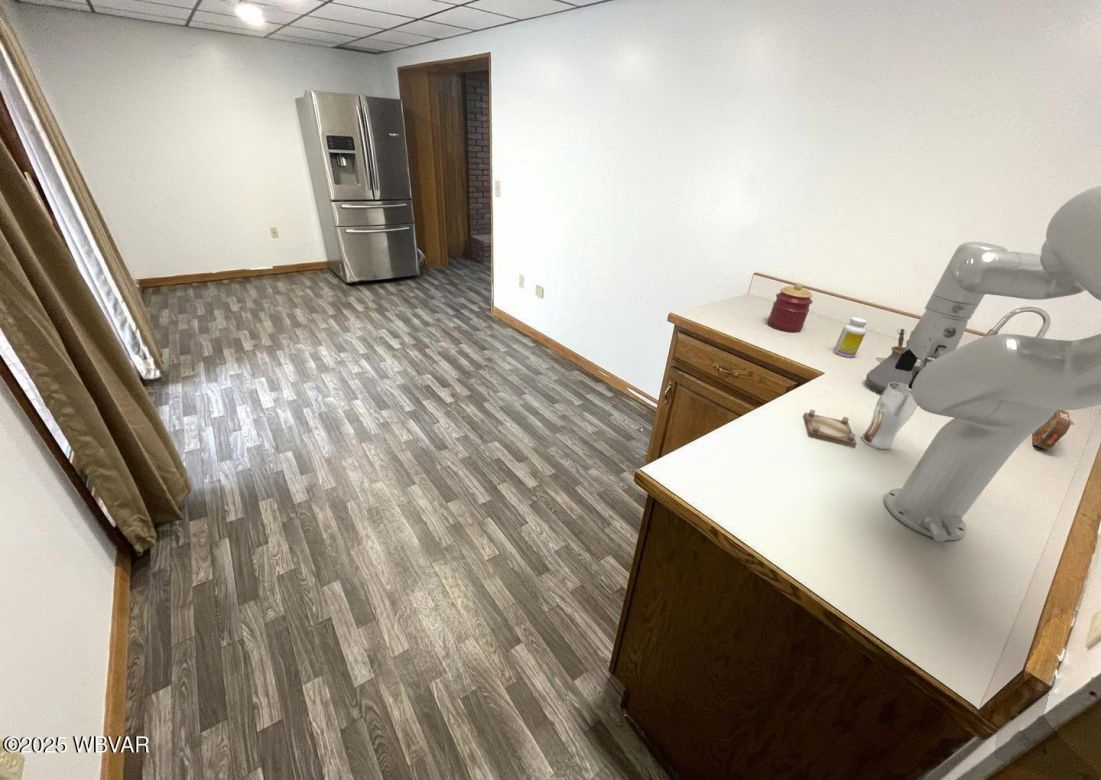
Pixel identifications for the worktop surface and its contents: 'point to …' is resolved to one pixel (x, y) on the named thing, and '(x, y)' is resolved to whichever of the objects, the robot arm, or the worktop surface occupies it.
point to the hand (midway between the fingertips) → (909, 379)
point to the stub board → (829, 429)
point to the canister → (790, 309)
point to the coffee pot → (889, 369)
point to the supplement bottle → (851, 337)
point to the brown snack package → (1051, 430)
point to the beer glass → (890, 415)
